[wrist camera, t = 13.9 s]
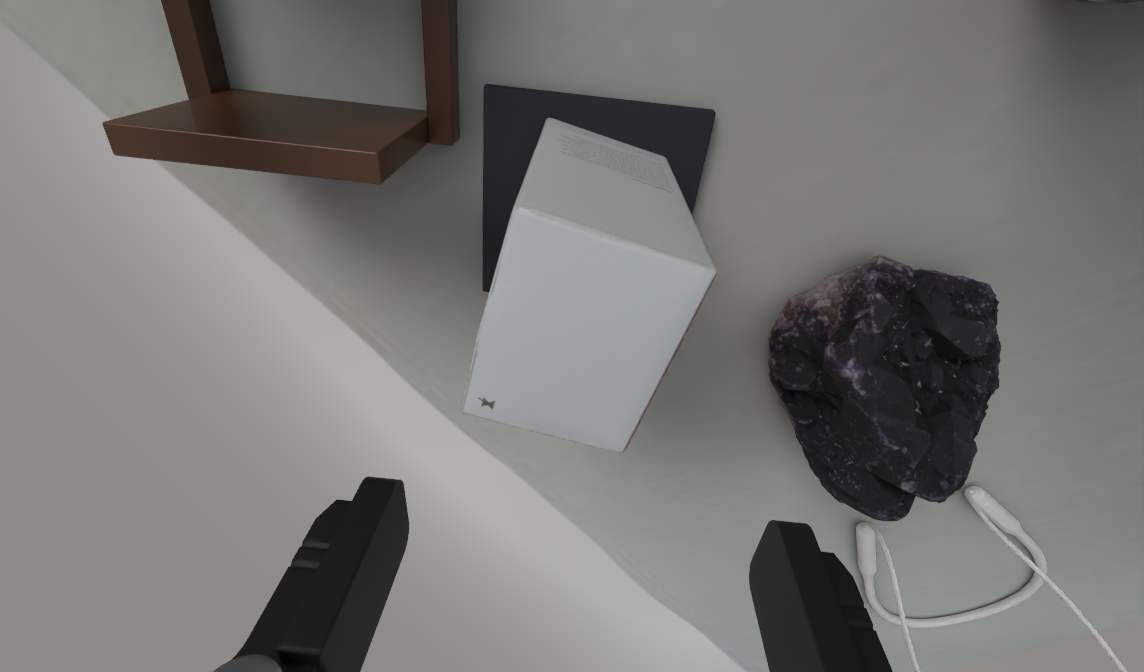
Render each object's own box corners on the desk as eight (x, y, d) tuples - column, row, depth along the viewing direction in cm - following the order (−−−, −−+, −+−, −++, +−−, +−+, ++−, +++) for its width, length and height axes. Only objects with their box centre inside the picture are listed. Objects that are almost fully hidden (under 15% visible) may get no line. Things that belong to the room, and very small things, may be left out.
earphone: (1041, 482, 32) (1236, 794, 29) (963, 442, 48) (1084, 642, 44) (825, 552, 37) (968, 828, 33) (817, 494, 52) (915, 680, 49)
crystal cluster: (891, 193, 28) (981, 280, 20) (1046, 336, 31) (1180, 463, 23) (710, 347, 35) (721, 458, 27) (850, 451, 38) (898, 580, 30)
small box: (614, 291, 30) (623, 460, 19) (507, 259, 29) (454, 416, 18) (670, 153, 26) (723, 271, 15) (547, 111, 25) (508, 203, 14)
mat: (713, 109, 25) (716, 112, 25) (668, 306, 31) (669, 311, 31) (485, 83, 25) (483, 85, 25) (484, 287, 31) (482, 291, 31)
